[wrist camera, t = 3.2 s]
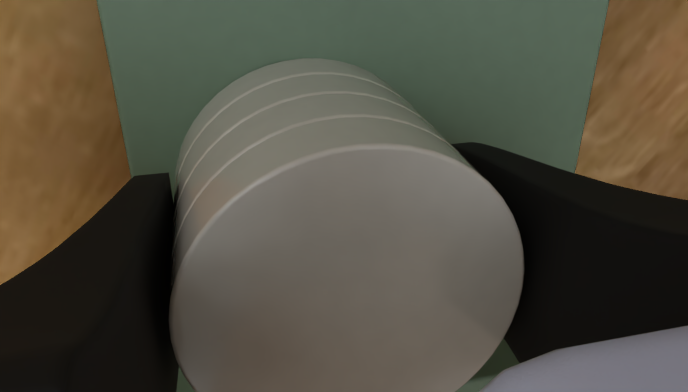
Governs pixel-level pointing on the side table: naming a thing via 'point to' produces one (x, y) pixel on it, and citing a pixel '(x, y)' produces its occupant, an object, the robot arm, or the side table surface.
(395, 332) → the saucers
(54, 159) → the side table surface
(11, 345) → the robot arm
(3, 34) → the side table surface
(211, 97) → the green end-lipped tray
